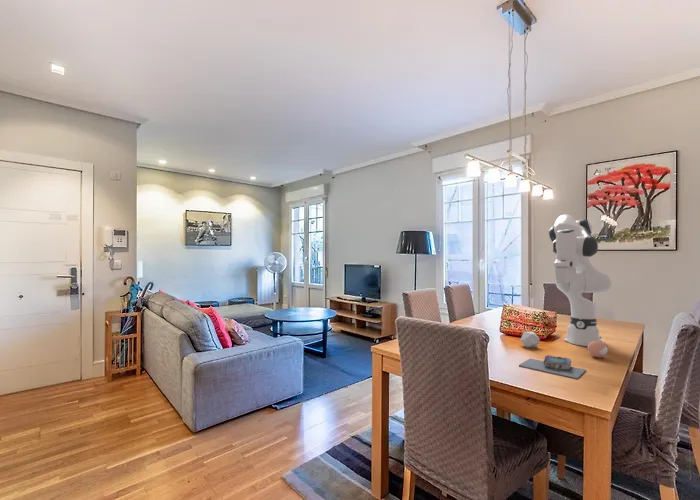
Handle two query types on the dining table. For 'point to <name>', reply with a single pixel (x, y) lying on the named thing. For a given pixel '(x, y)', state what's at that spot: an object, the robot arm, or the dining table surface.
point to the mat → (552, 369)
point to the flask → (557, 362)
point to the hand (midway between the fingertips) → (567, 291)
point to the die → (530, 339)
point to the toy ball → (597, 349)
